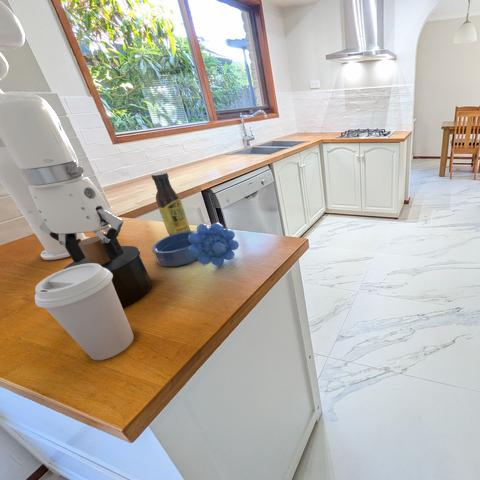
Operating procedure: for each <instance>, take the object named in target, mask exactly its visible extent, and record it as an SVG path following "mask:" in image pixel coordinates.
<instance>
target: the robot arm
mask: <svg viewBox="0 0 480 480" xmlns="http://www.w3.org/2000/svg"><path fill="white" fill-rule="evenodd" d="M25 40H26V37H25V32H24V29H23V27H22V25H21V22H20V21H19V18H18V17H17V16H16V15H15V14H14V12H13V11H12V10H11V8H10V7H9V6H8V5H6V3H4V2H3V1H1V0H0V82H1V81H2V80H4V79H5V77H7V76H8V73H9V63H8V61H7V59H6V58H5V56H4V55H3V54H2V52H1V51H14V50H17V49H20V48H22V47H23V46H24V44H25ZM84 172H85V170H84V168H83V167H82V166H81V165H79V159H78V156H77V154H76V151H75V150H74V148H73V145H72V144H71V142H70V139H69V138H68V136H67V134H66V132H65V130H64V129H63V126H62V123H61V122H60V119H59V117H58V116H57V114H56V112H55V110H54V109H53V108H52V107H51V105H50V104H49V102H47V100H45V98H43V97H41V96H40V95H38V94H35V93H29V92H18V93H5V92H3V90H2V89H1V88H0V184H1V185H2V186H3V188H4V189H5V190H6V192H7V194H8V195H9V196H10V198H11V199H12V201H13V202H14V203H15V205H16V207H17V208H18V210H19V211H20V212H21V214H22V216H23V217H24V219H25V220H26V223H28V225H29V227H30V228H31V230H32V231H33V233H34V234H35V236H36V238H37V239H38V241H39V242H40V244H41V246H42V247H43V248H44V250H42V251H41V253H40V257H41V259H42V260H44V261H56V260H62V259H66V258H69V257H70V258H71V259H72V262H73V261H74V262H80V261H81V260H83V259H84V258H86V257H85V256H84V254H83V252H82V251H81V249H80V247H79V245H78V243H79V242H80V241H82V240H84V239H87V238H90V236H86V235H85V234H86V233H93V234H95V236H98V237H99V238H100V239H101V240H102V241H104V243H102V246H103V248H104V249H105V251H106V253H107V255H108V257H109V259H110V260H115V259H116V258H118V257H119V256H120V255H122V254H123V250H122V248H121V246H122V245H121V244H120V242H119V240H118V237H119V234H120V232H121V228H122V227H123V224H124V220H123V219H122V218H120V217H118V216H116V215H114V214H113V211H111V209H110V206H109V205H108V203H107V202H106V200H105V199H104V196H103V195H102V194H101V192H100V191H99V189H98V188H97V186H96V185H95V183H93V181H92V180H91V179H90V178H89V177H88V176H85V177H84V175H83V173H84ZM103 230H104V231H105V232H106V233H105V232H104V231H103Z"/></svg>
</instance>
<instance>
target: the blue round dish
mask: <svg viewBox="0 0 480 480" xmlns="http://www.w3.org/2000/svg"><path fill="white" fill-rule="evenodd" d="M191 233H198V232H197V230H190V231H185V232H180V233H176V234H173V235H170V236H169V235H167V236H165V237H163V238H161V239H159V240H157V241H156V242H155V243H154V244H152V247H151V251H152V254H153V255H154V258H155V260H156V262H157V263H158V264H159V265H160V266H164V267H174V268H175V267H181V266H185V265H189V264H191V263H193V262H195V261H198V256H193V255H191V254H190V253H189V247H190V246H191V245H194V244H191V243H190V242H189V241H188V236H189V234H191ZM198 234H199V233H198Z"/></svg>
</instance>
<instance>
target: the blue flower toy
mask: <svg viewBox="0 0 480 480" xmlns="http://www.w3.org/2000/svg"><path fill="white" fill-rule="evenodd" d="M196 231H197V232H198V233H199V234H198V233H191V234H189V236H188V241H189V242H190V243H191V244H194V245H191V246H190V247H189V253H190V254H191V255H193V256H198V259H197V262H199V263H200V264H202V265H209V264H212V265H214V266H216V267H219V266H222V265H224V264H225V260H226V261H231V260H233V259H234V258H235V255H236V254H235V252H234V251H236V250H238V248H239V246H240V245H239V242H238V241H237V240H236V239H234V238H235V236H236V234H235V232H234V230H233V229H230V228H225V226H224V225H223V224H222V223H221V222H220V223H219V222H214V223H212V224H211V225H208V224H207V223H200V224H199V225H198V226H197V227H196Z"/></svg>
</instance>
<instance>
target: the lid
mask: <svg viewBox="0 0 480 480" xmlns="http://www.w3.org/2000/svg"><path fill="white" fill-rule="evenodd" d="M89 237H90V236H89ZM102 243H104V241H102V240H101V239H100V238H99V237H98V236H97V235H95V236H91V237H90V238H87V239H84V240H82V241H80V242H79V243H78V245H79V247H80V249H81V251H82V252H83V254H84V256H85V257H86V258H84V259H83V260H81V261H80V262H74V261H73V260H72V262H70V263H68V264H67V265H66V266H64V267H63V269H66V268H69V267H72V266H76V265H80V264H87V263H96V264H99V265H101V266H102V267H103V268H106V269H107V270H109V271H110V272H111V273H115V272H117V271H119V270H121V269H123V268H125V267H127V266H128V265H130V264H131V263H133V262H134V261H135V260H136V259H137V258H138V257H139V256H141V251H140V249H139V248H138V247H137V246H133V245H120V246H121V248H122V250H123V254H122V255H120V256H119V257H118V258H116V259H115V260H110V259H109V257H108V255H107V253H106V251H105V249H104V248H103V246H102Z"/></svg>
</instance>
